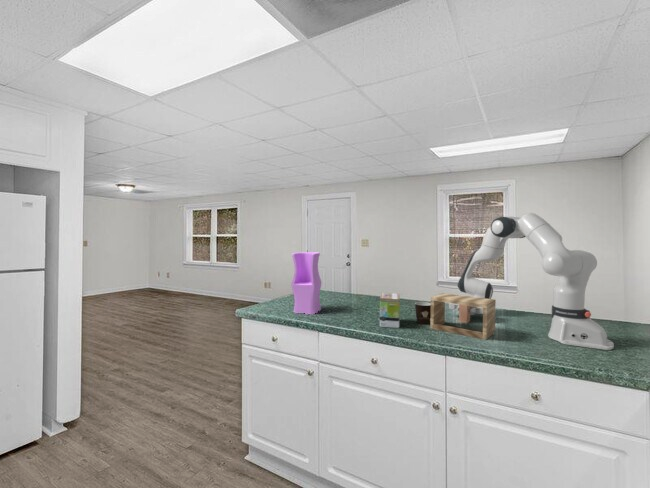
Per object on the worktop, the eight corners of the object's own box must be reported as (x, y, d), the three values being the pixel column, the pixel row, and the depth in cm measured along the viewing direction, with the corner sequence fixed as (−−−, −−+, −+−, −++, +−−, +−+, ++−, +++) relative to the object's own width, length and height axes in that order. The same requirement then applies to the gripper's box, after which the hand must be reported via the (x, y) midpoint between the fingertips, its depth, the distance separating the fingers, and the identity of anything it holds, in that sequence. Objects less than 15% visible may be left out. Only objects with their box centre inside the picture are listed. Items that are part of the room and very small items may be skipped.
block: (470, 321, 175) (470, 300, 175) (466, 323, 171) (467, 302, 171) (462, 319, 178) (462, 299, 177) (459, 321, 174) (459, 301, 174)
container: (291, 313, 193) (291, 253, 192) (300, 308, 207) (299, 252, 205) (314, 314, 189) (313, 254, 188) (321, 309, 203) (321, 252, 201)
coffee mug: (413, 323, 171) (413, 304, 170) (416, 319, 178) (416, 301, 178) (436, 326, 165) (436, 306, 165) (439, 322, 173) (439, 303, 172)
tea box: (399, 328, 163) (400, 298, 162) (379, 327, 165) (379, 297, 164) (399, 320, 178) (399, 292, 177) (380, 319, 180) (380, 292, 179)
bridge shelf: (495, 332, 156) (495, 299, 155) (486, 339, 145) (486, 304, 145) (441, 322, 173) (441, 293, 172) (430, 328, 162) (430, 297, 161)
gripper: (453, 297, 191) (444, 301, 180) (492, 302, 177) (484, 307, 167) (453, 308, 191) (444, 313, 181) (492, 314, 178) (484, 319, 167)
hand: (464, 310), depth 174 cm, fingers closed on block, 4 cm apart
